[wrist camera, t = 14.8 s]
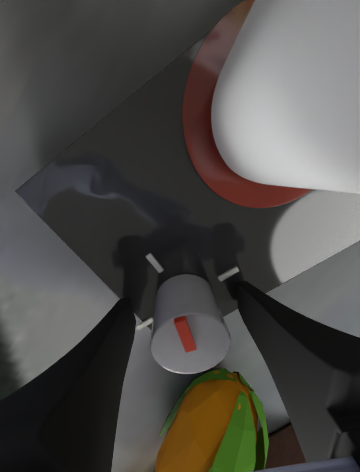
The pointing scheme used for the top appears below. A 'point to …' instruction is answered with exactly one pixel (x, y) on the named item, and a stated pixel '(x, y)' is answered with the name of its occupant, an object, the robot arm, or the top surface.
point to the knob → (188, 326)
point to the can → (293, 96)
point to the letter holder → (284, 449)
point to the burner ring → (200, 126)
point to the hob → (175, 208)
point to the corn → (215, 427)
